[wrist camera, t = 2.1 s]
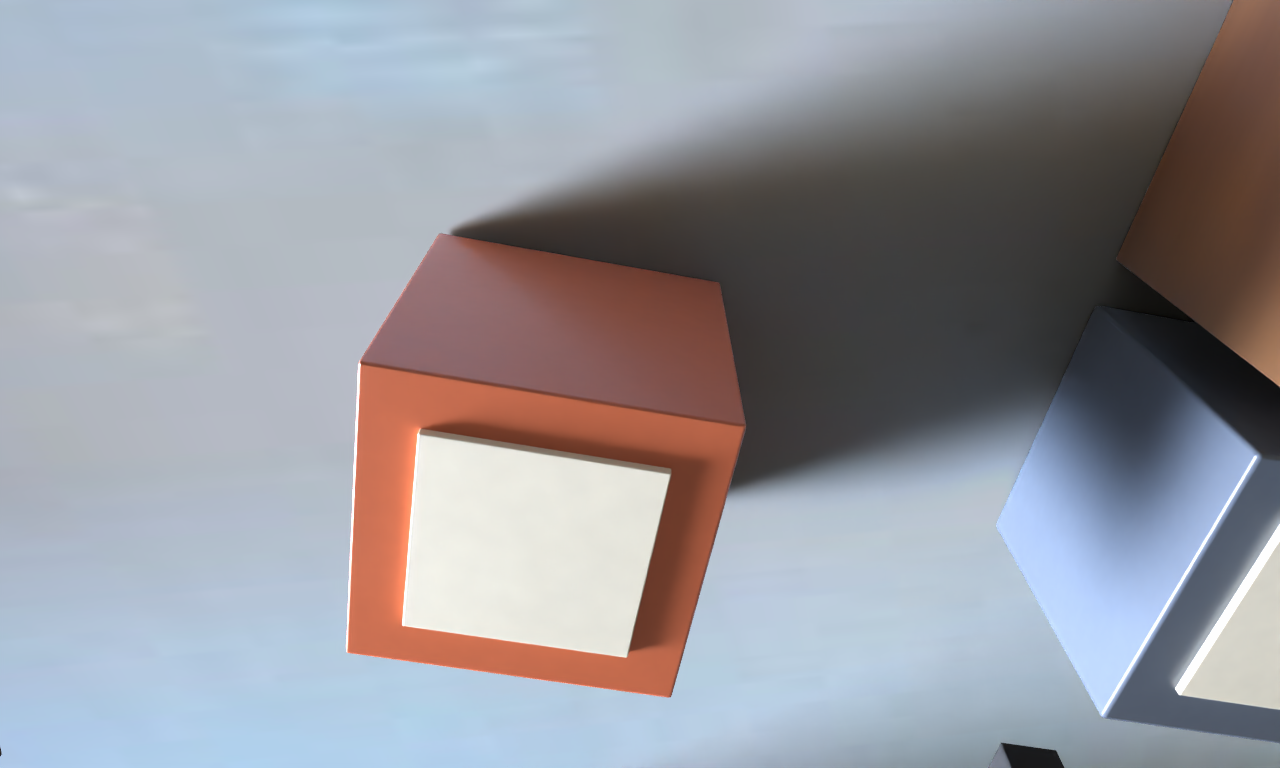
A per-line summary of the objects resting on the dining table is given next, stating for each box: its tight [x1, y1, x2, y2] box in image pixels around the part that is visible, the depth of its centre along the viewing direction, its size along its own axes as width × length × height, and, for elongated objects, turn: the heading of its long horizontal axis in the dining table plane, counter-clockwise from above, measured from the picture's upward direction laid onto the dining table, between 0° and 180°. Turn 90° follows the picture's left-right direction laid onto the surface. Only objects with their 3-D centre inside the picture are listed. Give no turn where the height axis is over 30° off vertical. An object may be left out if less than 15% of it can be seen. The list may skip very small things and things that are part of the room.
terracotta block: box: [346, 234, 746, 698], centre depth 18 cm, size 6×6×6 cm
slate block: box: [996, 306, 1280, 743], centre depth 19 cm, size 6×6×6 cm
